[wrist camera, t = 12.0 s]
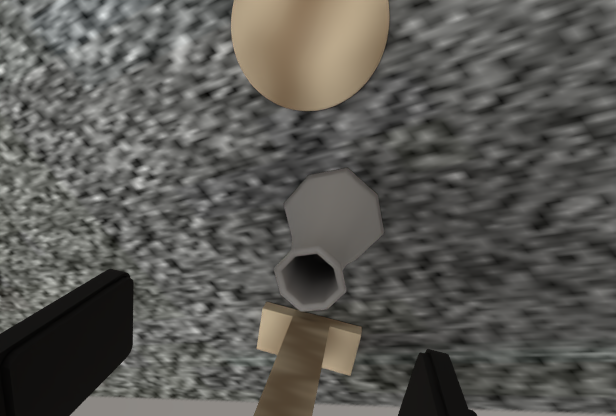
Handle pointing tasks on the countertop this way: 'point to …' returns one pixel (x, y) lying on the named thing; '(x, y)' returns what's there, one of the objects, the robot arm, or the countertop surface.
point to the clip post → (301, 357)
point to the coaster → (309, 48)
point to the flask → (326, 236)
